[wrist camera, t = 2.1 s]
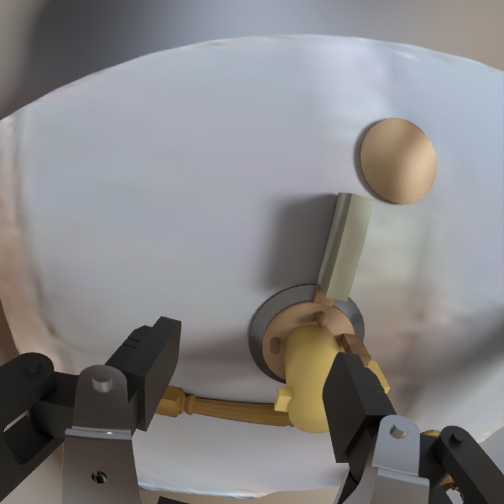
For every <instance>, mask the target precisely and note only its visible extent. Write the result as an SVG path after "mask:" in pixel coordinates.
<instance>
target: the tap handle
mask: <svg viewBox="0 0 504 504" xmlns="http://www.w3.org/2000/svg"><path fill="white" fill-rule="evenodd" d="M184 411H186V413H187V414H189V415H191V414H192V413H197V414H201V415H206V416H212V417H217V418H223V419H229V420H235V421H241V422H248V423H256V424H264V425H274V426H287V425H289V426H292V427H294V425H293V424H292V422H291V421H290V419H289V412H283V411H276V410H274V405H271V404H253V403H239V402H228V401H218V400H210V399H201V398H196V397H195V396H194V395H189V396H186V394H185V393H183V390H182V389H181V388H179V387H174V386H169V385H168V386H167V388H166V390H165V392H164V395H163V397H162V399H161V401H160V403H159V405H158V407H157V409H156V411H155V413H156V414H160V415H165V416H169V417H174V418H175V417H177V416H178V415H179V414H180V413H183V412H184Z"/></svg>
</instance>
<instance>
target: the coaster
mask: <svg viewBox="0 0 504 504" xmlns="http://www.w3.org/2000/svg"><path fill="white" fill-rule="evenodd" d="M360 161H361V167H362V171H363V174H364V177H365V179H366V181H367V182H368V184H369V186H370V187H371V188H372V189H373V191H374V192H375V193H376V194H378V195H379V196H380V197H382V198H383V199H385V200H387V201H389V202H392V203H397V204H410V203H414V202H416V201H418V200H420V199H421V198H423V197H424V196H425V195H426V194H427V193H428V192H429V190H430V189H431V187H432V185H433V183H434V180H435V176H436V170H437V162H436V156H435V152H434V149H433V146H432V144H431V142H430V140H429V138H428V137H427V136H426V134H425V133H424V132H423V131H422V130H421V129H420V128H419V127H418V126H416V125H415V124H413V123H411V122H409V121H407V120H404V119H399V118H390V119H386V120H383V121H381V122H379V123H377V124H375V125H374V126H373V127H372V128H371V129H370V130H369V131H368V132H367V134H366V135H365V137H364V139H363V142H362V145H361V151H360Z"/></svg>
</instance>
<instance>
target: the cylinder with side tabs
mask: <svg viewBox="0 0 504 504" xmlns="http://www.w3.org/2000/svg"><path fill="white" fill-rule="evenodd" d="M283 350H284V362H285V374H286V386H287V387H281V386H279V388H278V391H277V394H276V397H275V400H274V410H276V411H283V412H289V419H290V421H291V422H292V424H293V425H294V426H295V427H297V428H298V429H300V430H302V431H305V432H311V433H323V432H328V431H329V427H328V422H327V417H326V413H325V409H324V404H323V400H322V391H323V386H324V383H325V381H326V378H327V376H328V374H329V371H330V369H331V366H332V364H333V361H334V358H335V356H336V354H337V353H338V352H340V349H339V347H338V345H337V342H336V340H335V337H334V335H333V333H332V332H331V331H330V330H329V329H328V328H326V327H325V328H320V327H319V326H318V324H306V325H303V326H300V327H298V328H296V329H294V330H293V331H292V332H291V333H290V334H289V335H288V336H287V338H286V340H285V342H284V347H283ZM365 367H368V368H369V369H370V370H371V371H372V372H374V373H375V374H376V375H377V377H378V379H379V381H380V382H381V386H383V388H384V390H385V393H386V394H387V393H388V391H389V390H390V386H389V384H388V383H387V381H386V379H385V377H384V375H383V373H382V372H381V370H380V368H379V366H378V365H377V363H376V361H372V360H370V362H369V364H368V366H365Z"/></svg>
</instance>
